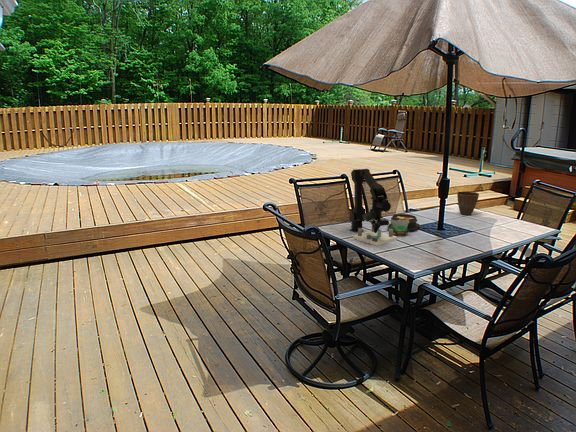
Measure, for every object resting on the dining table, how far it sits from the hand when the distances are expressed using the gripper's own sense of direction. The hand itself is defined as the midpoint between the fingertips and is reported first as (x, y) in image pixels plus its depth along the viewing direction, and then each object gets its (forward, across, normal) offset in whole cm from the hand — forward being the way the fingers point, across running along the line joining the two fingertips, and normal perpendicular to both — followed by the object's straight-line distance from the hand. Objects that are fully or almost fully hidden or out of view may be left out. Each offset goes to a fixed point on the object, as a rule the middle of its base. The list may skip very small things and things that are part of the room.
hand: (375, 233), depth 257 cm
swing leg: (+2, +2, -2) cm, 3 cm away
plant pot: (+5, -30, +98) cm, 103 cm away
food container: (+5, -3, +21) cm, 22 cm away
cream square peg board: (+5, -2, +1) cm, 5 cm away
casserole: (+5, -15, +32) cm, 36 cm away
